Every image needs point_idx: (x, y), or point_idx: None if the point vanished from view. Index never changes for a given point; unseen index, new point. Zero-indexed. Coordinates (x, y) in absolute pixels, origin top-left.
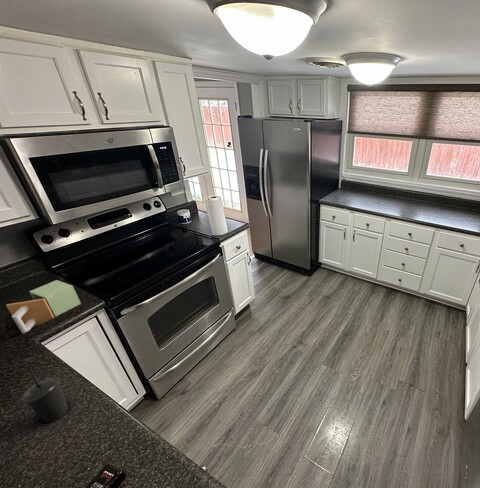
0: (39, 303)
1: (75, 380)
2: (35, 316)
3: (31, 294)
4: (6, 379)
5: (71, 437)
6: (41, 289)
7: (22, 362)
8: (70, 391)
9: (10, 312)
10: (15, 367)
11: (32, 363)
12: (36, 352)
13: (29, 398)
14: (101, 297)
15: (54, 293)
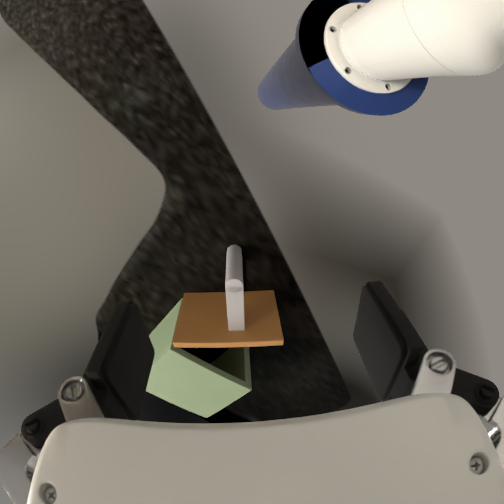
0: (190, 332)
1: (18, 25)
2: (222, 299)
3: (248, 379)
4: (157, 28)
5: None
6: (219, 391)
7: (148, 85)
8: (22, 2)
9: (278, 318)
10: (157, 68)
11: (119, 76)
12: (131, 122)
13: None
14: None
15: (158, 363)
